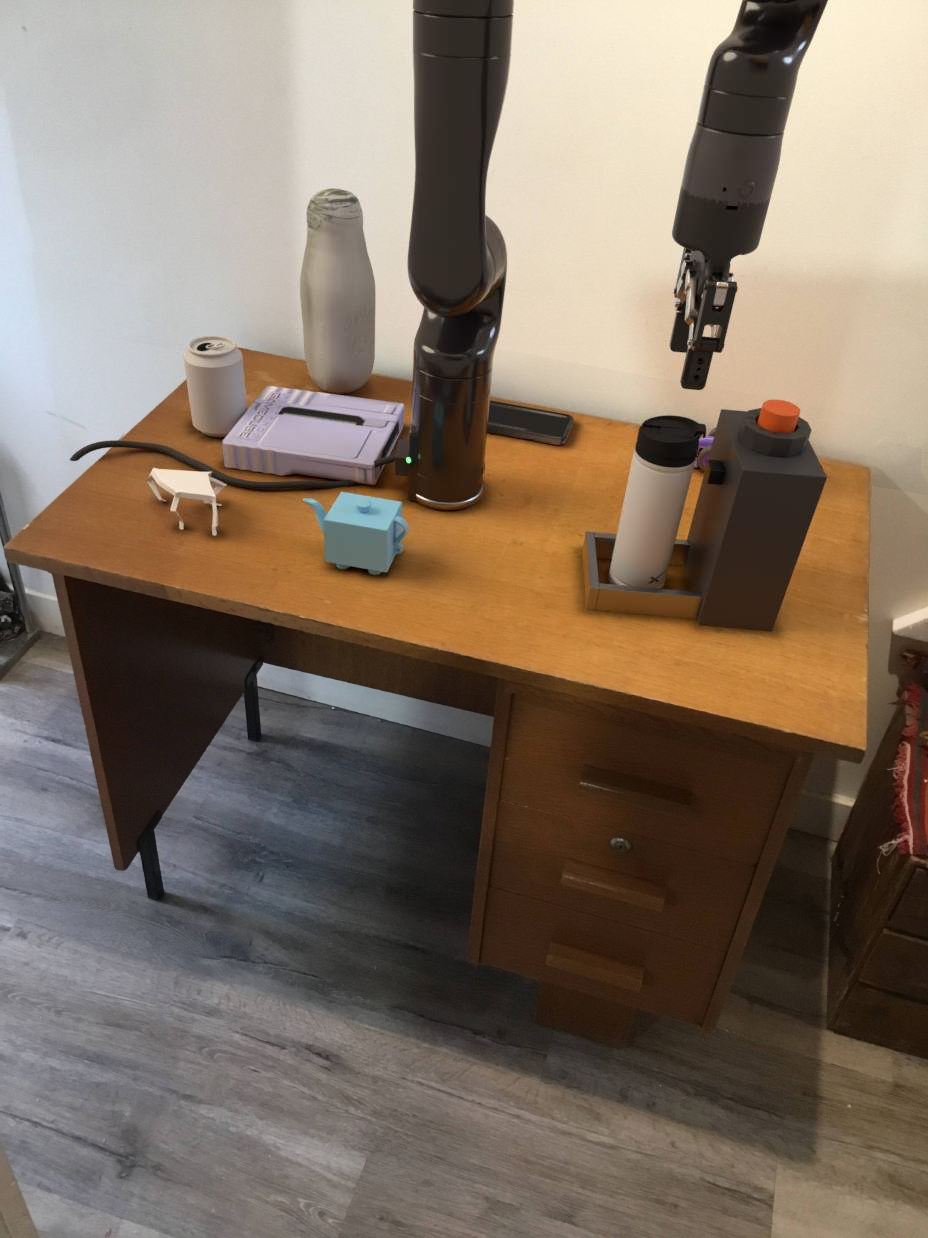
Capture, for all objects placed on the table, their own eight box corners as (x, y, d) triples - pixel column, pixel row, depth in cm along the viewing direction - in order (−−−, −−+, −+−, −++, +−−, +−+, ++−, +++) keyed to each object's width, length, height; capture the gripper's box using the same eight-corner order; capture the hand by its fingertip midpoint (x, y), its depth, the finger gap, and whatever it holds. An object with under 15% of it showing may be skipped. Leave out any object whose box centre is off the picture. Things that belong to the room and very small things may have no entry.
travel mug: (665, 605, 100) (707, 442, 88) (605, 595, 101) (639, 432, 88) (666, 573, 105) (707, 414, 92) (609, 563, 106) (642, 404, 93)
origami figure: (250, 507, 110) (247, 471, 107) (215, 542, 104) (210, 506, 101) (163, 486, 113) (157, 450, 110) (123, 520, 106) (116, 483, 103)
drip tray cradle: (586, 609, 99) (610, 483, 89) (581, 552, 107) (603, 430, 97) (696, 619, 99) (732, 493, 89) (683, 561, 107) (715, 440, 97)
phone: (475, 397, 135) (575, 415, 132) (475, 404, 136) (573, 422, 133) (461, 420, 129) (565, 439, 126) (460, 427, 130) (564, 446, 127)
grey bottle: (336, 369, 142) (331, 175, 125) (387, 388, 138) (389, 191, 121) (292, 389, 136) (280, 188, 118) (344, 410, 132) (339, 204, 114)
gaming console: (266, 384, 129) (405, 401, 127) (268, 408, 131) (404, 426, 129) (219, 442, 115) (374, 463, 113) (222, 468, 117) (374, 489, 115)
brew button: (761, 433, 88) (766, 413, 87) (754, 416, 91) (759, 397, 90) (798, 436, 88) (804, 417, 87) (789, 419, 91) (795, 400, 90)
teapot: (296, 563, 102) (292, 505, 97) (314, 534, 107) (311, 478, 102) (399, 581, 100) (401, 524, 96) (413, 551, 105) (415, 495, 100)
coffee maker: (697, 625, 98) (748, 450, 85) (682, 556, 108) (725, 390, 95) (772, 631, 98) (834, 458, 85) (749, 562, 108) (802, 397, 95)
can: (204, 411, 129) (194, 328, 121) (256, 418, 128) (248, 335, 121) (184, 436, 123) (172, 350, 115) (238, 442, 122) (229, 357, 115)
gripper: (672, 162, 82) (639, 337, 92) (693, 205, 71) (654, 398, 81) (755, 169, 82) (713, 343, 92) (789, 213, 71) (737, 405, 81)
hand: (685, 368), depth 87 cm, fingers open, 8 cm apart
